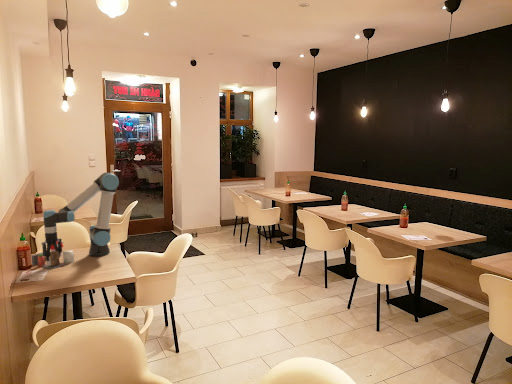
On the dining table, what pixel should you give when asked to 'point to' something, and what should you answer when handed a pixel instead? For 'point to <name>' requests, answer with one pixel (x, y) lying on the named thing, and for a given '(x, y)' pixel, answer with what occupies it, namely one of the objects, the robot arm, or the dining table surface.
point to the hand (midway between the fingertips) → (53, 263)
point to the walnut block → (54, 258)
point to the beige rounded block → (68, 256)
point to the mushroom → (57, 245)
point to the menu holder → (35, 259)
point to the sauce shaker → (41, 260)
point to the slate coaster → (53, 266)
